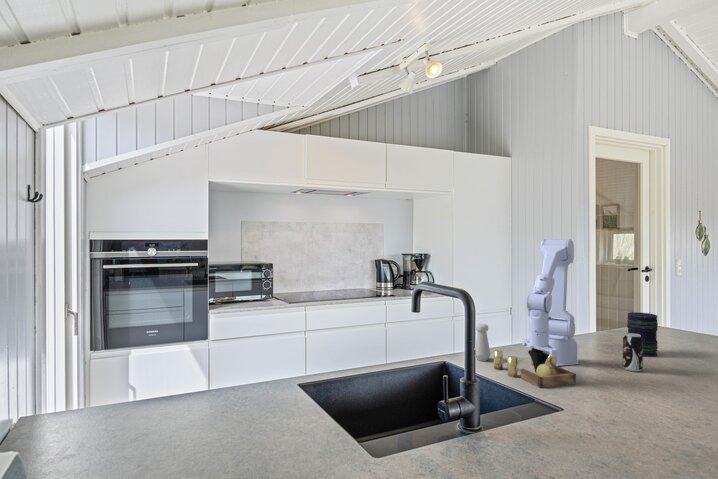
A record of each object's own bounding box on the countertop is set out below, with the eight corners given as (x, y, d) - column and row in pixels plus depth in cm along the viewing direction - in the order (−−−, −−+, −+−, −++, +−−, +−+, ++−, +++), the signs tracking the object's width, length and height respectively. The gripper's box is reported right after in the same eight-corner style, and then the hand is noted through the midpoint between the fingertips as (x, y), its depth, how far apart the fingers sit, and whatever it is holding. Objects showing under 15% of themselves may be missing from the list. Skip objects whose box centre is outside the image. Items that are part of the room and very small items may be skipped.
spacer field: (536, 363, 156) (536, 346, 156) (558, 372, 146) (558, 354, 146) (492, 367, 151) (492, 350, 151) (511, 377, 141) (511, 358, 141)
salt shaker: (488, 357, 164) (488, 322, 163) (491, 362, 158) (492, 326, 158) (472, 357, 164) (472, 322, 164) (475, 361, 159) (475, 325, 158)
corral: (555, 374, 144) (555, 365, 144) (575, 383, 135) (575, 373, 135) (521, 378, 140) (521, 369, 140) (539, 387, 131) (539, 377, 131)
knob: (547, 383, 135) (547, 367, 135) (534, 378, 140) (533, 362, 140) (558, 380, 137) (558, 364, 137) (544, 375, 142) (544, 360, 142)
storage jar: (657, 352, 170) (657, 313, 170) (658, 358, 162) (658, 318, 162) (627, 348, 175) (627, 311, 175) (626, 354, 167) (626, 315, 167)
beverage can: (639, 373, 144) (639, 337, 144) (620, 369, 149) (620, 334, 149) (645, 370, 148) (645, 334, 148) (626, 366, 152) (626, 331, 152)
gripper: (514, 326, 147) (514, 367, 147) (543, 336, 133) (543, 381, 133) (532, 325, 149) (532, 365, 149) (563, 335, 135) (563, 379, 135)
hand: (538, 372), depth 141 cm, fingers closed
